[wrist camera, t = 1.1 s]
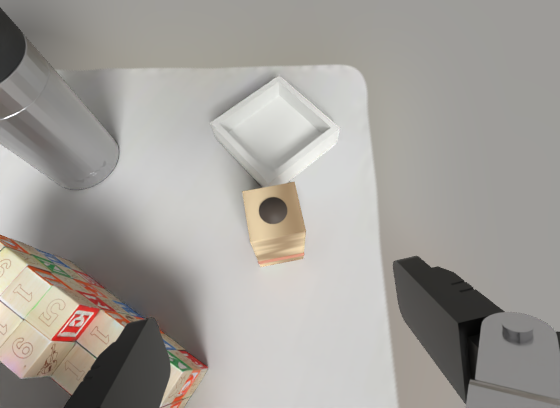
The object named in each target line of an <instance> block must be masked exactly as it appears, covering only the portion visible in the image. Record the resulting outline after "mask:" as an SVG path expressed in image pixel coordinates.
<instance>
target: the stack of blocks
mask: <svg viewBox="0 0 560 408" xmlns="http://www.w3.org/2000/svg"><path fill="white" fill-rule="evenodd" d="M142 319H144V318H142V317H141V316H140V315H138V314H137V313H136V312H134V311H133V310H132V309H131V308H129V307H128V306H127V305H125V304H124V303H122V302H121V301H120V300H118V299H117V298H116V297H115V296H113V295H112V294H111V293H109V292H108V291H107V290H105V288H104V287H102V286H101V285H100V284H99V283H97V282H96V281H95V280H93V279H92V278H91V277H89V276H88V275H87V274H86V273H85V272H83V271H82V270H81V269H80V268H78V267H77V266H76V265H74V264H73V263H72V262H70V261H68V260H66V259H63V258H60V257H58V256H55V255H51V254H49V253H46V252H43V251H40V250H38V249H36V248H33V247H32V246H29V245H26V244H24V243H22V242H19V241H16V240H13V239H10V238H7V237H5V236H2V235H0V362H2V363H3V364H4V365H5V366H6V367H7V368H8V369H10V370H11V371H12V372H13V373H14V374H16V375H17V376H18V377H19V378H20V379H27V378H37V377H49V376H50V377H51V378H52V379H53V380H54V381H55V382H56V383H57V384H58V385H60V386H61V387H62V388H63V389H64V390H65V391H66V392H68V393H69V394H70V395H71V396H72V394H73V393H74V391H75V390H76V388H77V387H78V385H79V384H80V382H82V381H83V378H84V377H85V375H86V374H87V372H88V371H89V370H91V366H92V365H93V363H94V362H95V360H96V359H97V357H98V356H99V355H100V354H101V353H102V352H103V351H104V350H105V349H106V348H107V347H108V346H109V345H111V344H112V343H113V342H116V340H117V339H118V337H119V336H120V334H121V332H122V331H123V329H124V328H125V326H126V325H127V324H128V323H130V322H134V321H138V320H142ZM160 333H161V336H162V338H163V341H164V344H165V347H166V350H167V352H168V355H169V358H170V365H171V373H170V378H169V381H168V384H167V387H166V390H165V393H164V396H163V399H162V402H161V405H160V408H184V406H185V405H186V403H187V402H188V400H189V399H190V397H191V395H192V394H193V393H194V391H195V390H196V388H197V387H198V385H199V383H200V382H201V380H202V379H203V377H204V375H205V374H206V372H207V370H208V367H207V366H206V365H204V364H203V363H202V362H200V361H199V360H198V359H196V358H195V357H193V356H192V355H191V354H189V353H188V352H186V351H185V349H184V348H183V347H182V346H180V345H179V344H178V343H176V342H175V341H174V340H172V339H171V338H170V337H168V336H167V335H165V334H164V333H163V332H162V331H161V330H160Z"/></svg>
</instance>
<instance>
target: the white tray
mask: <svg viewBox="0 0 560 408" xmlns="http://www.w3.org/2000/svg"><path fill="white" fill-rule="evenodd" d="M210 124H211V127H212V129H213V132H214V135H215V137H216V139H217V140H218V141H219V142H220V143H221V144H222V145H223V146H224V148H225V149H226V150H227V151H228V152H229V153H230V154H231V155H232V156H233V157H234V158H235V159H236V160H237V161H238V162H239V163H240V164H241V166H242V167H243V168H244V169H245V170H246V171H247V172H248V173H249V174H250V175H251V176H252V177H253V178H254V179H255V180H256V181H257V182H258V184H259V185H260V186H261V187H262V188H264V187H269V186H274V185H280V184H285V183H288V182H289V181H290V180H291V179H293V178H294V177H295V176H297V175H298V174H299V173H300V172H302V171H303V170H304V169H305V168H307V167H308V166H309V165H310V164H312V163H313V162H314V161H315V160H317V159H318V158H319V157H320V156H322V155H323V154H324V153H326V152H327V151H328V150H329V149H331V148H332V147H333V146H334V145H336V144H337V140H338V135H339V131H340V127H339V126H337V125H336V124H335V123H334V122H333V121H332V120H331V119H329V118H328V117H327V116H326V115H325V114H324V113H322V112H321V111H320V110H319V109H318V108H317V107H316V106H314V105H313V104H312V103H311V102H310V101H309V100H307V99H306V98H305V97H304V96H303V95H302V94H300V93H299V92H298V91H297V90H296V89H295V88H294V87H292V86H291V85H290V84H289V83H288V82H287V81H285V80H284V79H283V78H282V77H281V76H280V75H279V76H277V77H276V78H274V79H273V80H271V81H270V82H268V83H267V84H266V85H264V86H263V87H261V88H260V89H258V90H257V91H255V92H254V93H253V94H251V95H250V96H248V97H247V98H245V99H244V100H242V101H241V102H239V103H238V104H237V105H235V106H234V107H232V108H231V109H229V110H228V111H226V112H225V113H223V114H222V115H221V116H219V117H218V118H216V119H215V120H213V121H212V122H210Z"/></svg>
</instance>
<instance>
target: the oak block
mask: <svg viewBox="0 0 560 408" xmlns="http://www.w3.org/2000/svg"><path fill="white" fill-rule="evenodd" d="M242 193H243V199H244V206H245V212H246V218H247V225H248V231H249V237H250V242H251V245H252V247H253V250H254V252H255V254H256V257H257V259H258V263H259V264H260V267H264V266H269V265H274V264H279V263H284V262H289V261H294V260H299V259H303V256H304V245H305V235H306V229H305V225H304V221H303V217H302V212H301V208H300V204H299V199H298V195H297V191H296V186H295V182H290V183H285V184H280V185H274V186H269V187H264V188H258V189H253V190H248V191H242Z"/></svg>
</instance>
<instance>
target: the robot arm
mask: <svg viewBox="0 0 560 408" xmlns="http://www.w3.org/2000/svg"><path fill="white" fill-rule="evenodd" d="M0 144H1V145H3V146H4V147H6V148H7V149H8V150H10V151H11V152H13V153H14V154H16V155H17V156H19V157H20V158H21V159H23V160H24V161H26V162H27V163H29V164H30V165H31V166H33V167H34V168H36V169H37V170H38V171H40V172H41V173H43V174H44V175H46V176H47V177H48V178H50V179H51V180H53V181H54V182H56V183H57V184H59V185H60V186H62V187H64V188H67V189H72V190H80V189H85V188H89V187H92V186H94V185H96V184H98V183H100V182H101V181H103V180H104V179H105V178H106V177H108V175H109V174H110V173H111V172H112V171H113V169H114V167H115V166H116V164H117V161H118V156H119V149H118V145H117V143H116V141H115V140H114V139H113V137H112V136H111V135H110V134H109V133H108V131H107V130H106V129H105V128H104V127H103V126H102V124H101V123H100V122H99V121H98V120H97V118H96V117H95V116H94V115H93V114H92V113H91V111H90V110H89V109H88V108H87V107H86V106H85V104H84V103H83V102H82V101H81V100H80V99H79V97H78V96H77V95H76V94H75V93H74V92H73V91H72V89H71V88H70V87H69V86H68V85H67V84H66V82H65V81H64V80H63V79H62V78H61V77H60V75H59V74H58V73H57V72H56V71H55V70H54V68H53V67H52V66H51V65H50V64H49V63H48V61H47V60H46V59H45V58H44V57H43V56H42V55H41V54H40V52H39V51H38V50H37V49H36V48H35V47H34V45H33V44H32V43H31V42H30V41H29V40H28V39H27V37H26V36H25V35H24V34H23V33H22V32H21V30H20V29H19V28H18V27H17V26H16V25H15V24H14V22H13V21H12V20H11V19H10V18H9V17H8V16H7V15H6V14H5V12H4V11H3V10H2V9H1V8H0ZM393 271H394V278H395V284H396V291H397V298H398V304H399V308H400V312H401V314H402V317H403V319H404V320H405V322H406V324H407V325H408V326H409V328H410V329H411V330H412V332H413V333H414V335H415V336H416V337H417V339H418V340H419V341H420V343H421V344H422V346H423V347H424V348H425V349H426V351H427V352H428V354H429V355H430V356H431V358H432V359H433V360H434V362H435V363H436V365H437V366H438V367H439V369H440V370H441V371H442V373H443V374H444V375H445V377H446V378H447V380H448V381H449V382H450V383H451V385H452V386H453V388H454V389H455V390H456V392H457V393H458V395H459V396H460V397H461V399H462V400H463V401H464V403H465V404H466V408H560V332H555V330H554V329H553V328H552V327H551V326H550V325H548V324H547V323H546V322H544V321H542V320H540V319H538V318H536V317H533V316H530V315H527V314H522V313H515V312H504V311H503V310H502V309H500V308H499V307H498V306H496V305H495V304H494V303H493V302H491V301H490V300H489V299H487V298H486V297H485V296H484V295H482V294H481V293H479V292H478V291H477V290H474V289H473V287H472V286H471V285H469V284H468V283H467V282H464V280H463V279H461V278H460V277H459V276H458V275H456V274H455V273H454V272H451V271H449V270H446V269H443V268H440V267H434V268H431V267H430V266H429V265H428V264H426V263H425V262H424V261H423V260H421V258H419V257H418V256H413V257H409V258H405V259H400V260H397V261H394V262H393ZM170 373H171V365H170V358H169V355H168V352H167V350H166V347H165V344H164V341H163V338H162V336H161V333H160V330H159V327H158V325H157V322H156V320H155V319H154V318H147V319H142V320H138V321H134V322H130V323H128V324H127V325H126V326H125V328H124V329H123V331H122V332H121V334H120V336H119V337H118V339H117V340H116V342H113V343H112V344H111V345H109V346H108V347H107V348H106V349H105V350H104V351H103V352H102V353H101V354H100V355H99V356H98V357H97V359H96V360H95V362H94V363H93V365H92V366H91V370H89V371H88V372H87V374H86V375H85V377H84V378H83V381H82V382H80V384H79V385H78V387H77V388H76V390H75V391H74V393H73V394H72V396H71V397H70V399H69V400H68V402H67V403H66V405H65V406H64V408H160V405H161V402H162V399H163V396H164V393H165V390H166V387H167V384H168V381H169V378H170Z"/></svg>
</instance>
